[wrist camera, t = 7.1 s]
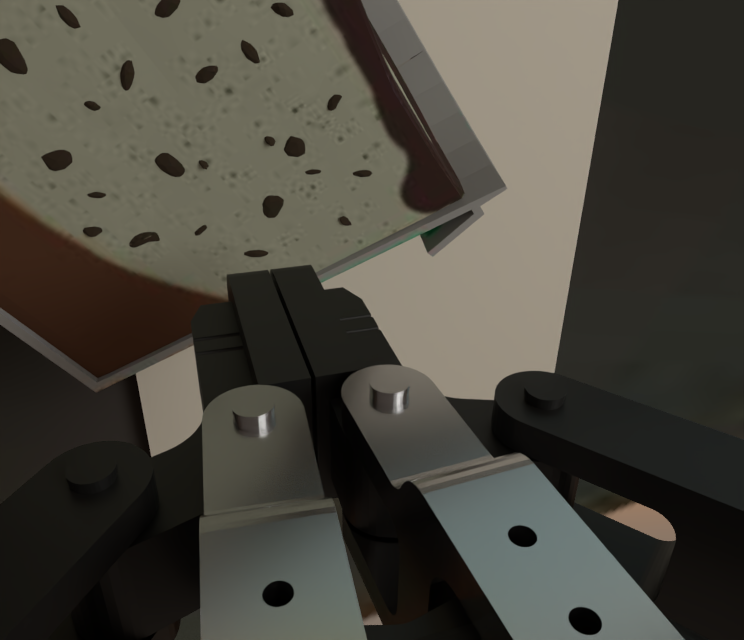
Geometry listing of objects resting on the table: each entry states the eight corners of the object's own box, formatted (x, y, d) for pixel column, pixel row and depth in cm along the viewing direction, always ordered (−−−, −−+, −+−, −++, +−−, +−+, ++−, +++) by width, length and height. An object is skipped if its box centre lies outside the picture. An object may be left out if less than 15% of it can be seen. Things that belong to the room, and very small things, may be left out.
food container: (159, 273, 21) (445, 88, 19) (143, 426, 17) (518, 206, 15) (-281, -129, 14) (108, -516, 12) (-531, -51, 9) (34, -672, 7)
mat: (161, 505, 24) (162, 515, 23) (-5, -394, 13) (-9, -404, 12) (536, 432, 27) (542, 440, 27) (660, -318, 16) (673, -324, 16)
